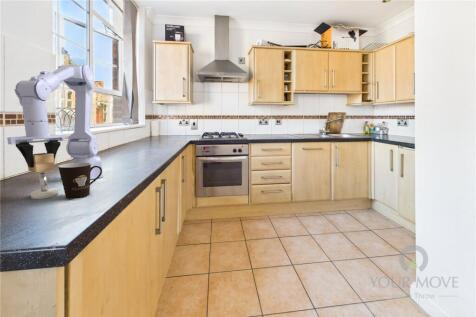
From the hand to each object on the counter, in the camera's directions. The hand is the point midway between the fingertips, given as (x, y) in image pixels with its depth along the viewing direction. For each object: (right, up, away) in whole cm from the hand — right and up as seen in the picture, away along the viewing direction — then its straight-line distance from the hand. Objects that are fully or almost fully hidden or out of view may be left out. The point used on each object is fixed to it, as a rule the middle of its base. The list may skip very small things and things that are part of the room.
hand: (41, 165), depth 81 cm
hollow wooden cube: (0, -1, 0) cm, 1 cm away
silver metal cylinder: (0, -8, +1) cm, 8 cm away
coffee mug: (+12, -10, +2) cm, 15 cm away
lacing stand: (0, -10, +2) cm, 10 cm away
